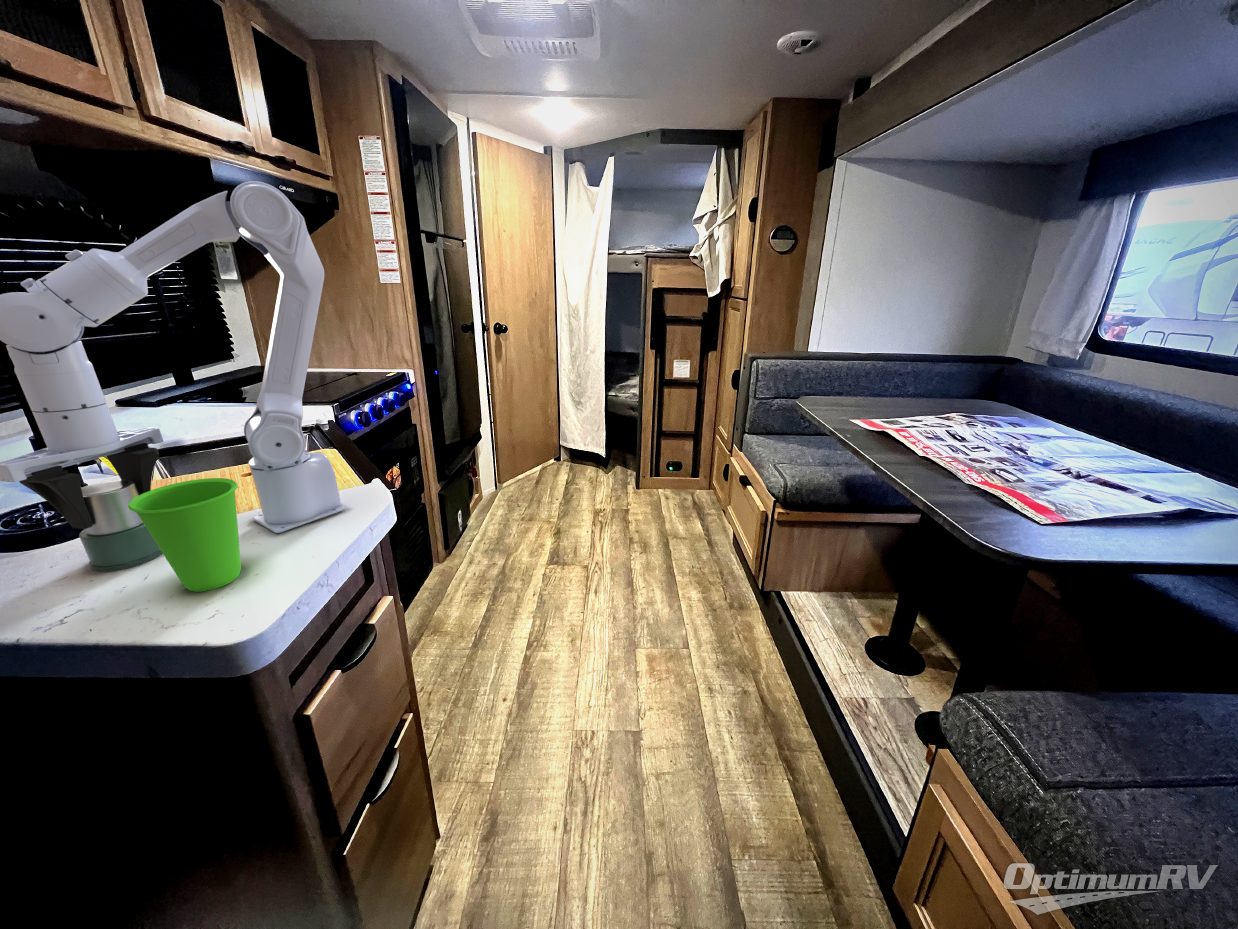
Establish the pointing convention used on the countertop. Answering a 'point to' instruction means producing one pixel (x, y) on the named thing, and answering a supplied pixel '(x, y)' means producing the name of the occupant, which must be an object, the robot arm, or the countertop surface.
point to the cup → (195, 530)
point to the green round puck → (120, 549)
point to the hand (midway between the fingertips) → (113, 515)
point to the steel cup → (110, 507)
